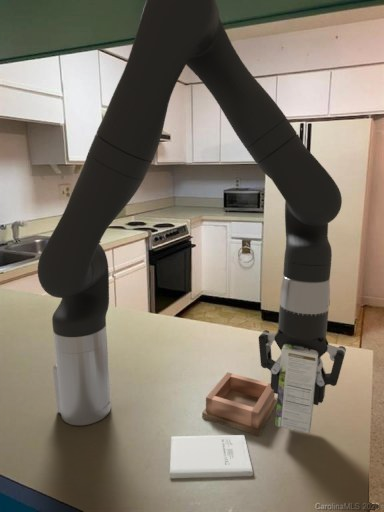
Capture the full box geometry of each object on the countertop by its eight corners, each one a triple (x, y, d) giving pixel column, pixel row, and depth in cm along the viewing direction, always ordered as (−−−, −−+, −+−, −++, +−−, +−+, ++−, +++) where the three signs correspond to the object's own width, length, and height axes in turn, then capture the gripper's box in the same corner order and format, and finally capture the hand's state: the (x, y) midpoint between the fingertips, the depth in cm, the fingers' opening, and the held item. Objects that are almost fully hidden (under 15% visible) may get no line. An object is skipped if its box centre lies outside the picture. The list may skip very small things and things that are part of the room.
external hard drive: (171, 443, 66) (244, 441, 66) (169, 481, 58) (252, 479, 58) (171, 435, 65) (244, 433, 66) (169, 472, 57) (252, 470, 58)
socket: (202, 417, 71) (202, 398, 70) (225, 387, 81) (226, 370, 80) (259, 436, 66) (260, 415, 65) (277, 402, 76) (278, 384, 75)
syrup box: (280, 407, 70) (285, 333, 67) (313, 414, 68) (320, 338, 65) (274, 426, 65) (279, 347, 61) (311, 435, 63) (318, 354, 59)
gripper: (253, 303, 62) (248, 396, 65) (349, 320, 55) (338, 422, 59) (267, 290, 68) (262, 375, 72) (354, 304, 61) (344, 397, 65)
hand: (296, 396), depth 65 cm, fingers closed on syrup box, 6 cm apart
